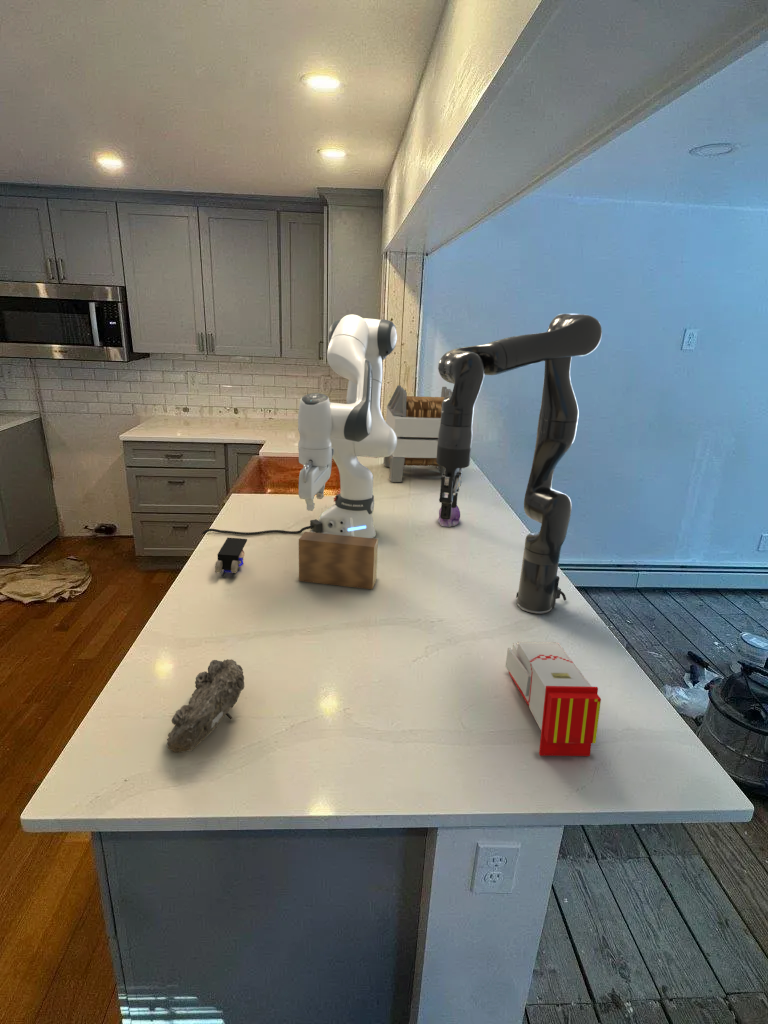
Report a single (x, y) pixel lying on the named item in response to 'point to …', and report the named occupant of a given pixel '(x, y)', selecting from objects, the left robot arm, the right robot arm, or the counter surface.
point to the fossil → (206, 705)
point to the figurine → (453, 519)
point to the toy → (556, 697)
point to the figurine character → (230, 556)
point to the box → (338, 560)
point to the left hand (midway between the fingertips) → (315, 503)
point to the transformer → (414, 431)
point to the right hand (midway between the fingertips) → (448, 512)
